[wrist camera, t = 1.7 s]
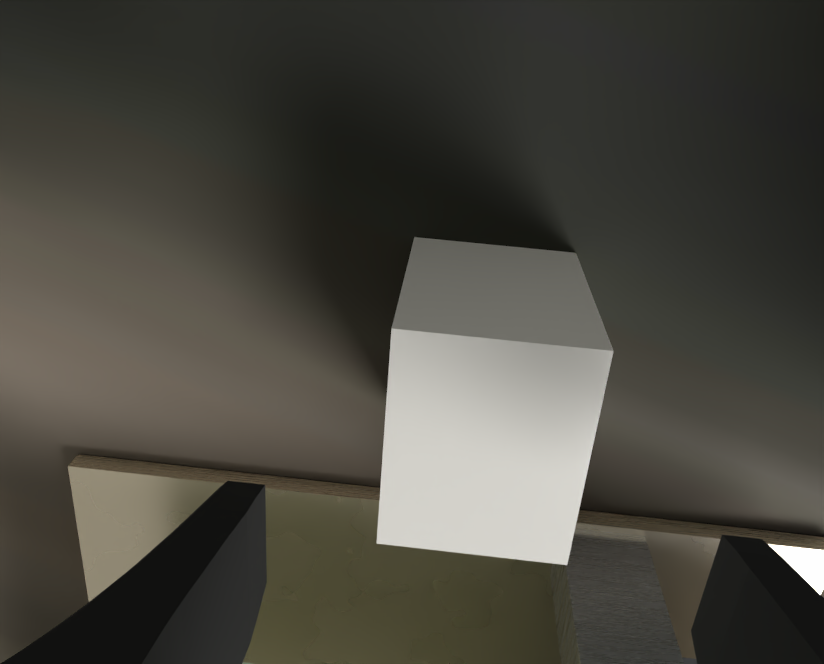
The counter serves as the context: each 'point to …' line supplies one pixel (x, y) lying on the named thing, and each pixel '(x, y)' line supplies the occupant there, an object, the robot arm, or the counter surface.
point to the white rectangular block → (490, 401)
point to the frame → (424, 575)
